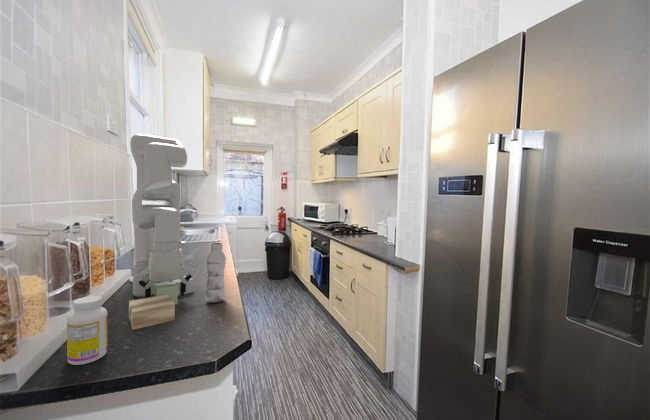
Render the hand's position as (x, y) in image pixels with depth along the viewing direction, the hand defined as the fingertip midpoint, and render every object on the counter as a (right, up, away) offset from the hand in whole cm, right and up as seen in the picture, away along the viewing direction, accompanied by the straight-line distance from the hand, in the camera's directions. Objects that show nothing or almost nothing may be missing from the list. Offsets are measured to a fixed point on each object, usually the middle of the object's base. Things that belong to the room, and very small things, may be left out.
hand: (166, 297), depth 93 cm
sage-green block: (0, -2, 0) cm, 2 cm away
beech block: (+3, -3, -12) cm, 13 cm away
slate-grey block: (-1, -2, +11) cm, 11 cm away
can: (-11, -1, +7) cm, 13 cm away
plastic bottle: (+15, -3, +3) cm, 16 cm away
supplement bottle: (+1, -3, -32) cm, 33 cm away
